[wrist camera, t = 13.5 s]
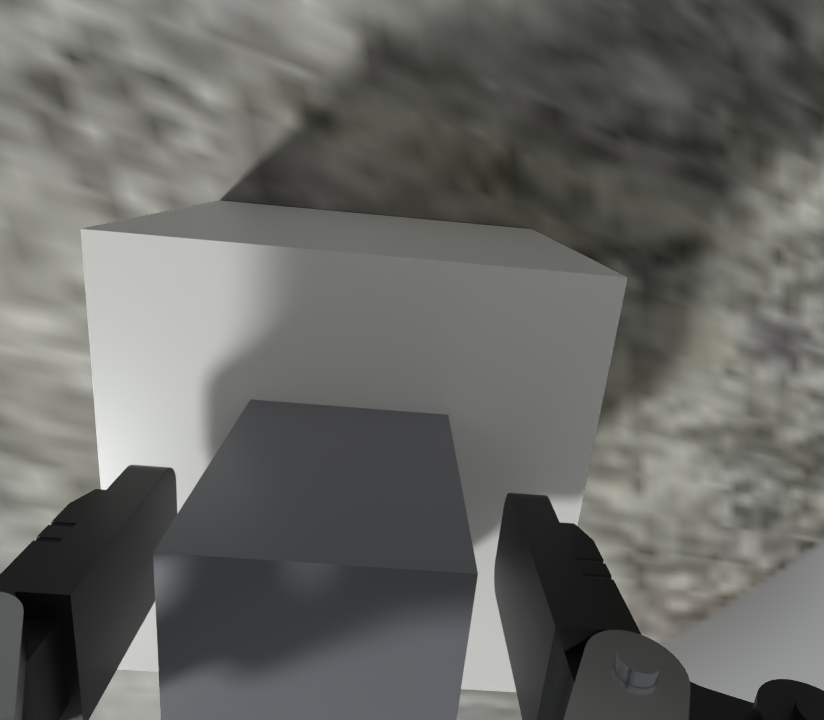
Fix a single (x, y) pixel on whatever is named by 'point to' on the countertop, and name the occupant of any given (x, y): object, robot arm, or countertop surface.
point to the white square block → (339, 443)
